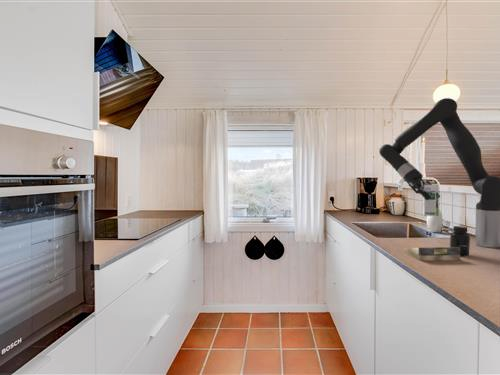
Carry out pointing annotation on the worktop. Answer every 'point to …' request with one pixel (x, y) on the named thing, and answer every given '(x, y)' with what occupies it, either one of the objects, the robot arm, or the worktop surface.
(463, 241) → the supplement bottle
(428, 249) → the price shelf
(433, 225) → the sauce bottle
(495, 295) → the worktop surface
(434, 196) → the syrup box
